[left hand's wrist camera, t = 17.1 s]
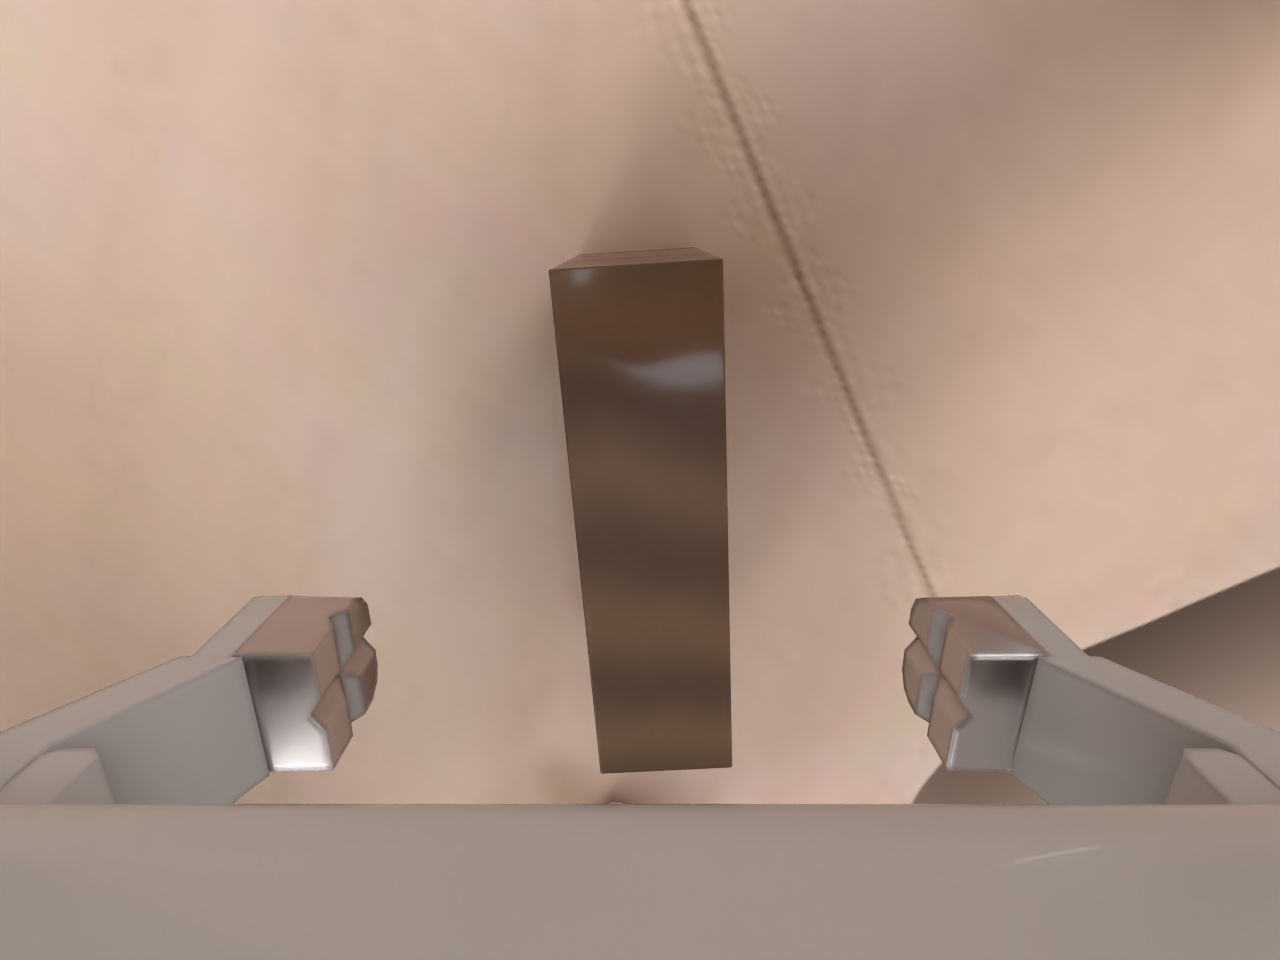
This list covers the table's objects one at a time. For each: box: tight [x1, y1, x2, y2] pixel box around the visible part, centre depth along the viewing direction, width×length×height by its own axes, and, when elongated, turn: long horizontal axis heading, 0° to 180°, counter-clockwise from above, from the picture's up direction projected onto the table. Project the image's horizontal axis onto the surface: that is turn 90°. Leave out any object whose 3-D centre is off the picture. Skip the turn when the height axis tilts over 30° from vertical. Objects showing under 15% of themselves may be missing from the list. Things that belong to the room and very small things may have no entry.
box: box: [549, 248, 732, 773], centre depth 33 cm, size 22×6×12 cm, turn 4°
